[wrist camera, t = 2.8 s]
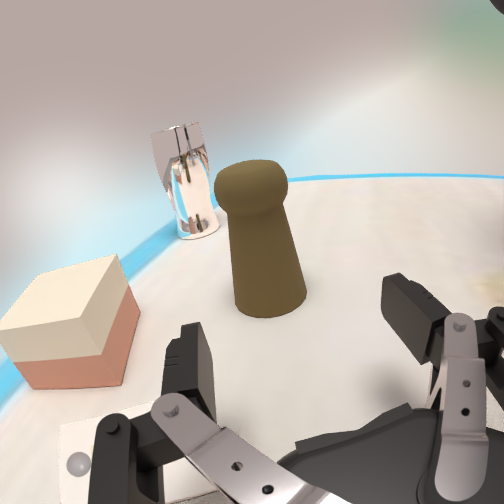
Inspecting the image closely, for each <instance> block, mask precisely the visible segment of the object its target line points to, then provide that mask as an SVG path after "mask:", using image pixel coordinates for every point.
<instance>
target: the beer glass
mask: <svg viewBox="0 0 504 504" xmlns="http://www.w3.org/2000/svg"><path fill="white" fill-rule="evenodd" d="M151 138H152V145H153V152H154V157H155V162H156V166H157V170H158V173H159V176H160V178H161V181H162V183H163V186H164V188H165V190H166V192H167V194H168V197H169V199H170V201H171V203H172V205H173V208H174V211H175V215H176V221H177V231H178V236H179V237H180V238H181V239H196V238H201V237H204V236H207V235H209V234H211V233H213V232H215V231H216V230H217V229H218V228H219V222H218V220H217V217H216V215H215V213H214V210H213V207H212V204H211V198H210V186H209V167H208V158H207V152H206V148H205V144H204V140H203V137H202V134H201V130H200V127H199V122H194V123H189V124H184V125H180V126H176V127H173V128H168V129H165V130H161V131H158V132H155V133H152V134H151Z"/></svg>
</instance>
